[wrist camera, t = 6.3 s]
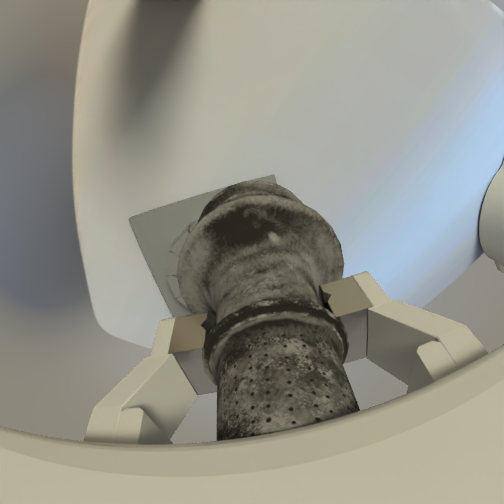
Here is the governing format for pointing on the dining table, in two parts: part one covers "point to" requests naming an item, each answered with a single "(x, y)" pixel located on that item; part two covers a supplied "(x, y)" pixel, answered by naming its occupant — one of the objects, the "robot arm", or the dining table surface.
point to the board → (170, 237)
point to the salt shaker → (267, 310)
